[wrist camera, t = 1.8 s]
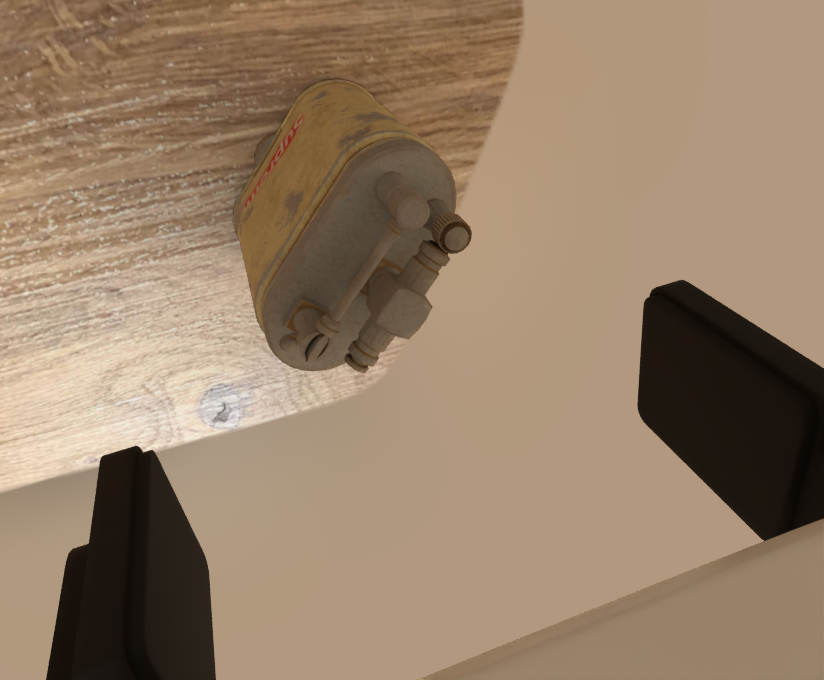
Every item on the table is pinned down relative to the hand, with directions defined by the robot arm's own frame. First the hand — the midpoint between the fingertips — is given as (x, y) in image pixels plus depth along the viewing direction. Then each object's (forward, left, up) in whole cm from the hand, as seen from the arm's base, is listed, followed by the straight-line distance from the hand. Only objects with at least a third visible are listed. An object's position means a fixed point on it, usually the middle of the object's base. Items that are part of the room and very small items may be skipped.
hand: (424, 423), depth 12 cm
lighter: (0, 0, -14) cm, 14 cm away
